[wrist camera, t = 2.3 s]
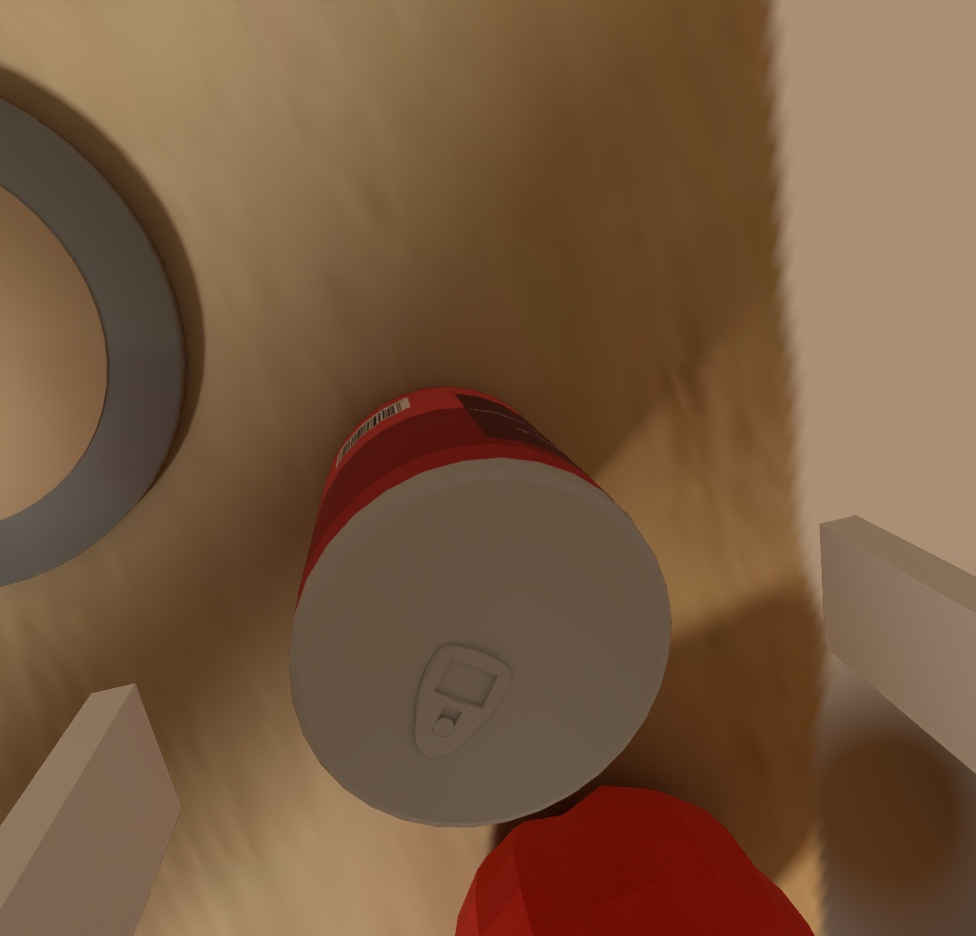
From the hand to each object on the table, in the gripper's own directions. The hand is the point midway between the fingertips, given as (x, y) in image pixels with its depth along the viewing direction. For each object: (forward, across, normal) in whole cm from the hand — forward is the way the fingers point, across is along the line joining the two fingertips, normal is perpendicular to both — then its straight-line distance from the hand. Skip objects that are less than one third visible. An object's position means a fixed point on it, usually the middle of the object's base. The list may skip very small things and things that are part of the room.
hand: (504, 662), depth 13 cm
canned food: (+12, 0, 0) cm, 12 cm away
